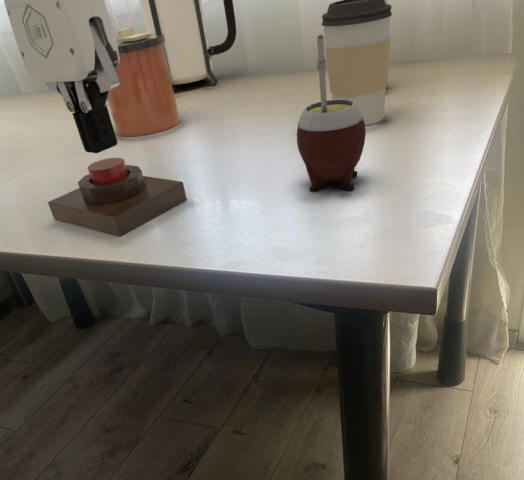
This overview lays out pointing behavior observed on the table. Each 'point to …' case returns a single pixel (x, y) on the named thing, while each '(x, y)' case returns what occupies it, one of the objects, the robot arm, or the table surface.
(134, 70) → the tumbler
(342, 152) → the mate gourd
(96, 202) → the button base
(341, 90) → the coffee cup
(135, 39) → the slider
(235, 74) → the table surface
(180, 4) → the coffee press
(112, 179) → the button
